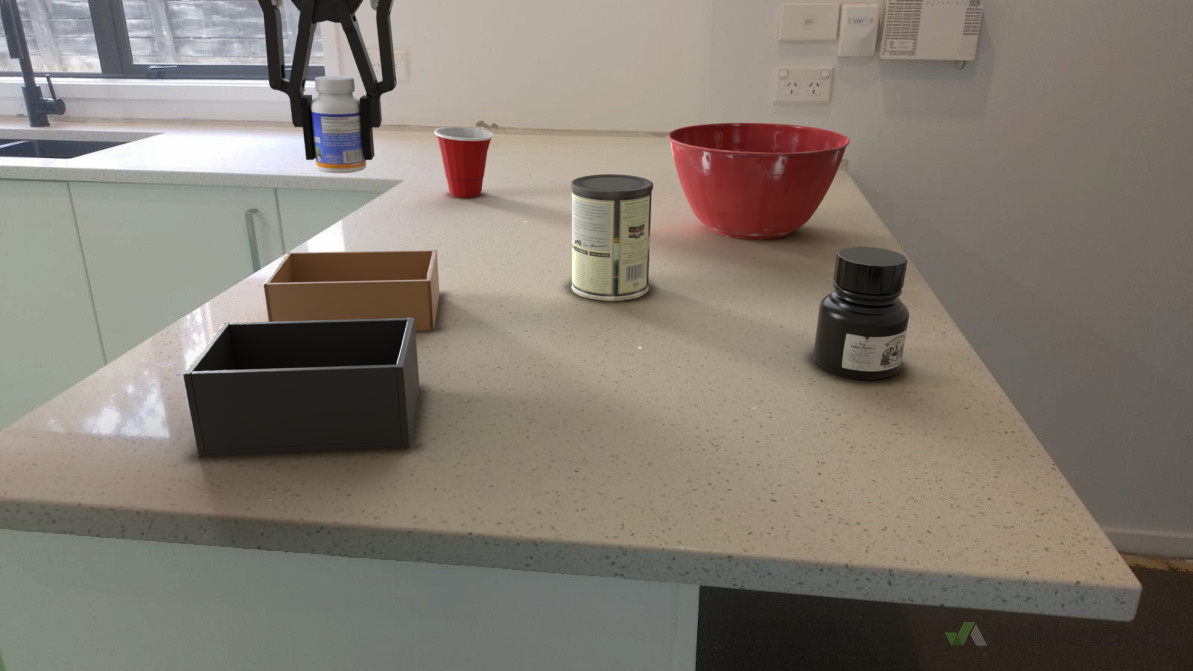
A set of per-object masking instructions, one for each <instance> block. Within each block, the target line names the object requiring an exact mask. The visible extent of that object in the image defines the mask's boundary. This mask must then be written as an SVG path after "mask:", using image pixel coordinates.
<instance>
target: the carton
mask: <svg viewBox="0 0 1193 671" xmlns="http://www.w3.org/2000/svg"><path fill="white" fill-rule="evenodd" d="M439 277H440V276H439V262H438V250H437V249H417V250H416V249H413V250H359V251H354V250H353V251H351V250H350V251H302V252H301V251H300V252H299V251H298V252H287V253H286V254H285V256H284V257H283V258H282V260H281V261H280V262H279V264H278V265H277V266H276V267H275V269H274V270H273V271H272V273H271V274H270V275H269V277H268V278H267V279H266V281H265V282H264V283H263V290H264V299H265V306H266V313H267V319H268V320H267V321H268V322H275V321H312V320H350V319H388V318H415V331H416V332H423V331H424V332H425V331H427V332H429V331H435V325H436V320H437V313H438V307H439V300H440V280H439V279H440V278H439Z"/></svg>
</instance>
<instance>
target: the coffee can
mask: <svg viewBox="0 0 1193 671" xmlns="http://www.w3.org/2000/svg"><path fill="white" fill-rule="evenodd" d="M570 188H571V290H572V292H573V293H574V294H576V295H578V296H579V297H581V298H585V299H589V300H593V301H594V300H595V301H601V302H624V301H629V300H635V299H638V298H640V297H642V296H645V295H646V294H648V292H649V289H650V287H649V286H650V285H649V280H650V279H649V275H650V252H651V250H650V246H651V245H650V244H651V227H652V226H651V222H652V221H651V220H652V219H651V218H652V192H653V189H654V182H652V181H651V180H650V179H647V178H644V177H641V176H636V175H631V174H630V175H629V174H617V173H615V174H614V173H607V174H606V173H605V174H601V173H600V174H591V175H584V176H580V177H577V178H574V179H572V180H571V182H570Z"/></svg>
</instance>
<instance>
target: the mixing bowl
mask: <svg viewBox="0 0 1193 671" xmlns="http://www.w3.org/2000/svg"><path fill="white" fill-rule="evenodd" d="M667 138H668V140H669V142H670V147H671V148H670V149H671V152H672V153H671V154H672V157H673V161H674V166H675V169H676V172H677V173H676V174H677V176H678V179H679V182H680V183H679V184H680V186H681V188H682V191H683V194H684V197H685V199H686V200H687V203H688V204H689V207H690V209H691V211H692V212H693V214H694V216H695V217H696V218H697V220H698V221H700V223H702V224H703V225H704V226H706V227H708V228H709V229H710V230H711V231H712V232H714V233H716V234H718V235H720V236H723V237H727V238H728V237H729V238H733V239H739V240H753V241H755V240H756V241H757V240H760V241H761V240H774V239H781V238H784V237H787V236H789V235H790V234H791V233H792V232H794V231H797V230H798V229H800V228H802V227H803V226H804V225H805V224H806V223H808V221H809V220H810V219H811V218H812V217H813V215H814V214H815V212H816V211H817V210H818V208H819V207H820V205H821V203H822V202H823V200H824V199H825V196H826V195H827V193H828V192H829V190H830V188H831V186H832V184H833V182H834V179H835V177H836V176H837V173H838V170H839V168H840V166H841V163H842V161H843V158H844V155H845V152H846V149H847V147H848V146H849V145H850V142H851V140H850V138H849V137H848V136H846V135H844V134H843V133H840V132H836V131H833V130H829V129H826V128H820V127H815V126H807V125H799V124H788V123H787V124H785V123H771V122H770V123H768V122H767V123H766V122H722V123H721V122H719V123H705V124H696V125H688V126H683V127H679V128H676V129H672V130H671V131H670V132H668V133H667Z"/></svg>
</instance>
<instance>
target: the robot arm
mask: <svg viewBox="0 0 1193 671" xmlns="http://www.w3.org/2000/svg"><path fill="white" fill-rule="evenodd" d="M290 1H291V3H292V4H293V6H294V7H295V8H296V9H297V11H298V12H299V17H298V24H297V34H296V39H295V45H294V51H293V57H292V63H291V68H290V74H289V79H288V78H287V75H286V74H287V73H286V62H285V60H286V59H285V48H284V47H285V46H284V38H283V37H284V34H283V23H282V13H281V8H282V7H283V6H284V0H257V2H258V5H259V6H260V8H261V9H260V10H261V11H262V14H263V27H264V36H265V37H264V40H265V51H266V64H267V75H268V85H269V87H270V88H271V89H272V90H273V91H279V92H282V93H284V94H286V95H287V96H288V99H289V106H290V113H291V122H292V125H293V127H294V128H302V133H303V134H302V135H303V143H304V144H303V145H304V153H305V160H306V161H315V151H314V141H313V130H312V120H311V109H310V104H311V101H312V100H313V95H312V94H304V93H305V91H306V83H307V82H306V81H307V75H308V72H309V71H308V70H309V65H310V59H311V54H312V48H313V43H314V37H315V32H316V29H317V25H318V23H323V22H331V23H334V24H340V25H341V28H342V31H343V33H344V35H345V37H346V40H347V43H348V45H349V48H350V51H351V54H352V57H353V59H354V62H355V65H356V68H357V71H358V74H359V77H360V79H361V81H362V86H363V88H364V90H365V95H361V97H359V100H360V110H361V123H362V135H363V148H364V160H366V161H373V159H374V157H375V144H374V130H373V129H374V128H375V129H376V128H380V127H381V125H382V123H383V117H382V102H381V101H382V100H381V99H382V98H381V97H382V95H383V94H386V93H389V92H392V91H394V90H395V89H396V87H397V84H398V82H397V73H396V72H397V71H396V62H395V51H394V42H393V40H394V39H393V31H392V22H391V13H392V9H393V5H394V1H395V0H369V1H370V7H371V8H372V10H373V11H375V12H376V13H375V22H376V33H377V42H378V43H377V44H378V53H379V60H380V62H379V63H380V71H381V80H380V81H378V78H377V75H376V72H375V69H374V67H373V66H374V65H373V63H372V62H371V58H370V56H369V51H368V49H367V47H366V44H365V41H364V38H363V35H362V32H361V29H360V24H359V22H358V19H357V15H356V13H357V11H358V10H359V8H360V7H361V5H362V4H363V2H364V0H290Z"/></svg>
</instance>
